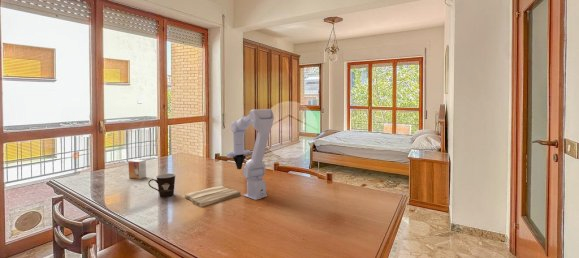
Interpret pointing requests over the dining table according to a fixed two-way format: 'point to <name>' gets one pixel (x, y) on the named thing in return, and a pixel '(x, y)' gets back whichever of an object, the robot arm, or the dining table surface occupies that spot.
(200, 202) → the laid boards
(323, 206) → the dining table surface
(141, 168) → the small box
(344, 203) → the dining table surface
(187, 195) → the plank
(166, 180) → the coffee mug
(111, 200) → the dining table surface
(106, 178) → the dining table surface
